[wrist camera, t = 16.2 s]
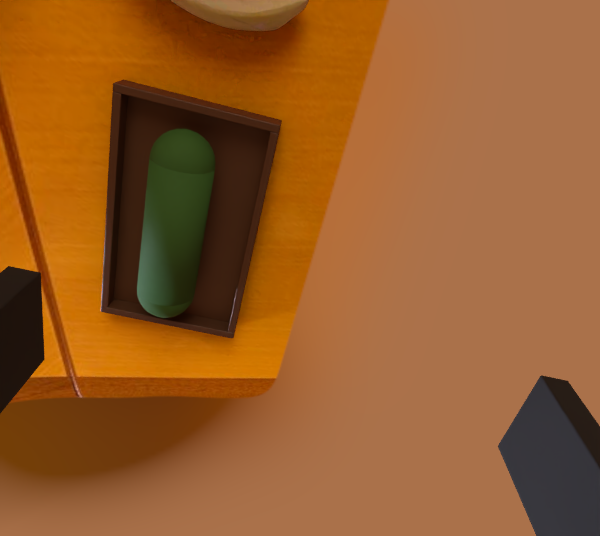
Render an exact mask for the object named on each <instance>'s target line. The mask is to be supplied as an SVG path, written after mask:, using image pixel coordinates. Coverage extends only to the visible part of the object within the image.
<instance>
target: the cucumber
mask: <svg viewBox="0 0 600 536" xmlns="http://www.w3.org/2000/svg"><path fill="white" fill-rule="evenodd" d="M214 173H215V155H214V152H213V149H212V148H211V146H210V144H209V143H208V141H207V140H206V139H205V138H204V137H202V136H201V135H200V134H198V133H196V132H194V131H191V130H188V129H174V130H170V131H167V132H166V133H164V134H162V135H161V136H160V137H159V138H158V139H157V140H156V141H155V143H154V144H153V146H152V149H151V152H150V157H149V167H148V177H147V188H146V198H145V209H144V220H143V230H142V241H141V251H140V262H139V272H138V283H137V296H138V299H139V302H140V303H141V305H142V307H143V308H144V309H145V310H146V311H147V312H149V313H150V314H152V315H154V316H157V317H161V318H169V317H174V316H177V315H179V314H181V313H183V312H184V311H185V310H186V309H187V308H188V307H189V306H190V304H191V303H192V300H193V298H194V294H195V288H196V282H197V276H198V270H199V264H200V258H201V252H202V246H203V240H204V233H205V227H206V221H207V215H208V209H209V203H210V197H211V191H212V185H213V179H214Z"/></svg>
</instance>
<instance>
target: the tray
mask: <svg viewBox="0 0 600 536" xmlns="http://www.w3.org/2000/svg"><path fill="white" fill-rule="evenodd" d="M280 126H281V120H278V119H274V118H270V117H267V116H263V115H259V114H255V113H251V112H247V111H243V110H239V109H235V108H232V107H228V106H224V105H220V104H216V103H212V102H208V101H204V100H200V99H197V98H193V97H189V96H185V95H181V94H177V93H173V92H169V91H165V90H162V89H158V88H154V87H150V86H146V85H142V84H138V83H134V82H130V81H127V80H121V81H118V82H115V83H113V97H112V116H111V134H110V153H109V171H108V189H107V208H106V226H105V245H104V263H103V282H102V300H101V312H106V313H110V314H115V315H120V316H125V317H130V318H135V319H140V320H145V321H150V322H155V323H160V324H164V325H169V326H174V327H179V328H184V329H189V330H194V331H199V332H204V333H209V334H214V335H218V336H223V337H228V338H233V337H234V332H235V328H236V323H237V319H238V314H239V310H240V305H241V301H242V296H243V292H244V287H245V283H246V279H247V274H248V270H249V265H250V261H251V256H252V252H253V247H254V243H255V238H256V234H257V229H258V225H259V220H260V216H261V211H262V207H263V202H264V198H265V193H266V189H267V184H268V180H269V175H270V171H271V166H272V162H273V157H274V153H275V148H276V144H277V139H278V135H279V130H280ZM174 129H188V130H191V131H194V132H196V133H198V134H200V135H201V136H202V137H204V138H205V139H206V140H207V141H208V143H209V144H210V146H211V148H212V149H213V152H214V155H215V173H214V179H213V185H212V191H211V197H210V203H209V209H208V215H207V221H206V227H205V233H204V240H203V246H202V252H201V258H200V264H199V270H198V276H197V282H196V288H195V294H194V298H193V300H192V303H191V304H190V306H189V307H188V308H187V309H186V310H185V311H184V312H183V313H181V314H179V315H177V316H174V317H169V318H161V317H157V316H154V315H152V314H150V313H149V312H147V311H146V310H145V309H144V308H143V307H142V305H141V303H140V302H139V299H138V296H137V283H138V272H139V262H140V251H141V241H142V230H143V220H144V209H145V198H146V188H147V177H148V167H149V157H150V152H151V149H152V146H153V144H154V143H155V141H156V140H157V139H158V138H159V137H160V136H161V135H162V134H164V133H166V132H167V131H170V130H174Z"/></svg>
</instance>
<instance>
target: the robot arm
mask: <svg viewBox="0 0 600 536" xmlns="http://www.w3.org/2000/svg"><path fill="white" fill-rule="evenodd" d="M43 360H44V339H43V316H42V293H41V273H39V272H34V271H29V270H25V269H20V268H15V267H10V266H8V267H7V268H6V269H5V270H3V271H2V272H1V273H0V413H1V412H2V411H3V409H4V408H5V407H6V406H7V405H8V403H9V402H10V401H11V400H12V398H13V397H14V396H15V395H16V394H17V392H18V391H19V390H20V389H21V387H22V386H23V385H24V384H25V382H26V381H27V380H28V379H29V378H30V376H31V375H32V374H33V373H34V371H35V370H36V369H37V368H38V366H39V365H40V364H41V363H42V362H43ZM498 447H499V450H500V452H501V455H502V457H503V459H504V461H505V463H506V466H507V468H508V471H509V473H510V475H511V478H512V480H513V482H514V485H515V487H516V489H517V492H518V494H519V496H520V499H521V501H522V503H523V506H524V508H525V510H526V513H527V515H528V517H529V520H530V522H531V524H532V527H533V529H534V531H535V534H536V536H600V426H599V425H598V423H597V422H596V420H595V419H594V418H593V416H592V415H591V413H590V412H589V410H588V409H587V408H586V406H585V405H584V403H583V402H582V401H581V399H580V398H579V396H578V395H577V393H576V392H575V391H574V389H573V388H572V386H571V385H570V384H569V382H568V381H565V380H561V379H556V378H551V377H546V376H540V378H539V379H538V381H537V383H536V384H535V386H534V388H533V389H532V391H531V393H530V394H529V396H528V398H527V399H526V401H525V402H524V404H523V406H522V407H521V409H520V411H519V412H518V414H517V416H516V417H515V419H514V421H513V422H512V424H511V425H510V427H509V429H508V430H507V432H506V434H505V435H504V437H503V439H502V440H501V442H500V443H499V445H498Z"/></svg>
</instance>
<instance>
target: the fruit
mask: <svg viewBox="0 0 600 536" xmlns="http://www.w3.org/2000/svg"><path fill="white" fill-rule="evenodd" d="M171 1H172V2H173V3H175V4H177V5H178V6H180V7H181V8H183V9H184V10H186V11H188V12H190V13H191V14H193V15H195V16H197V17H199V18H201V19H203V20H205V21H208V22H211V23H214V24H216V25H219V26H223V27H227V28H231V29H237V30H246V31H270V30H276V29H278V28H280V27H281V26H283V25H284V24H286V23H287V22H288V21H290V20H291V19H292V18H293V17H295V16H296V15H297V14H299V13H300V12H301V11H302V10H304V8H305V7H306V5H307V3H308V0H171Z"/></svg>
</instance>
